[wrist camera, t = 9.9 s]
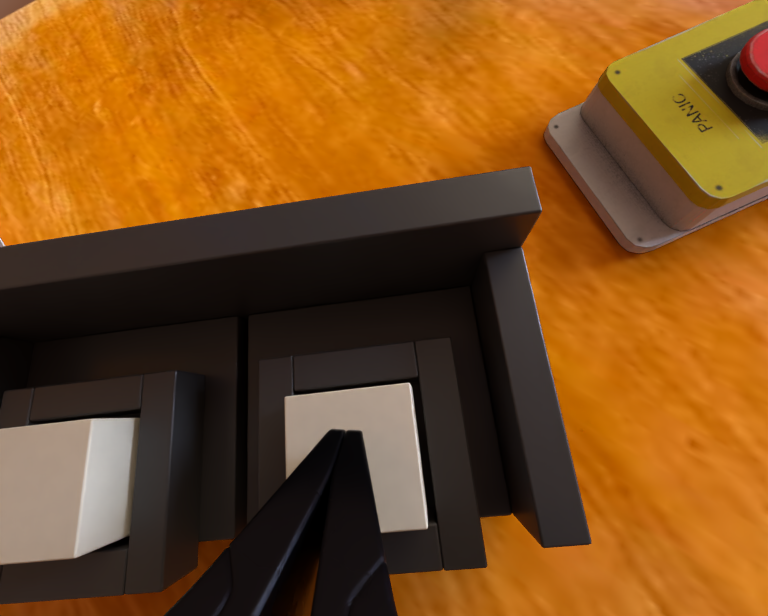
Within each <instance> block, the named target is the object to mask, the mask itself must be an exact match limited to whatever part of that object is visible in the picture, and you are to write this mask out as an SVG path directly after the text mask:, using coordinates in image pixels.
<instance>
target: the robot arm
mask: <svg viewBox="0 0 768 616" xmlns="http://www.w3.org/2000/svg"><path fill="white" fill-rule="evenodd" d="M164 616H398V615H397V611H396V606H395V602H394V597H393V593H392V588H391V583H390V578H389V573H388V567H387V563H386V557H385V552H384V546H383V541H382V536H381V530H380V525H379V519H378V514H377V509H376V503H375V498H374V492H373V487H372V481H371V476H370V471H369V465H368V460H367V454H366V449H365V443H364V438H363V433H362V431H361V430H347V431H345V430H344V429H330V430H329V431H328V432H327V433H326V434H325V435H324V436H323V438H322V439H321V440H320V441H319V442H318V443H317V444H316V446H315V447H314V448H313V449H312V450H311V451H310V453H309V454H308V455H307V456H306V457H305V458H304V459H303V461H302V462H301V463H300V464H299V465H298V466H297V468H296V469H295V470H294V471H293V472H292V473H291V474H290V476H289V477H288V478H287V479H286V480H285V481H284V483H283V484H282V485H281V486H280V487H279V488H278V489H277V491H276V492H275V493H274V494H273V495H272V496H271V498H270V499H269V500H268V501H267V502H266V503H265V504H264V506H263V507H262V508H261V509H260V510H259V511H258V513H257V514H256V515H255V516H254V517H253V518H252V519H251V521H250V522H249V523H248V524H247V525H246V526H245V528H244V529H243V530H242V531H241V532H240V533H239V534H238V536H237V537H236V538H235V539H234V540H233V541H232V543H231V544H230V545H229V548H226V549H225V550H224V551H223V553H222V554H221V555H220V556H219V557H218V558H217V560H216V561H215V562H214V563H213V564H212V565H211V566H210V567H209V569H208V570H207V571H206V572H205V573H204V574H203V575H202V576H201V577H200V579H199V580H198V581H197V582H196V583H195V584H194V585H193V586H192V587H191V588H190V589H189V590H188V591H187V592H186V594H185V595H184V596H183V597H182V598H181V599H180V600H179V601H178V602H177V603H176V604H175V605H174V606H173V607H172V608H171V609H170V610H169V611H168V612H167V613H166V614H165V615H164Z"/></svg>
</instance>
